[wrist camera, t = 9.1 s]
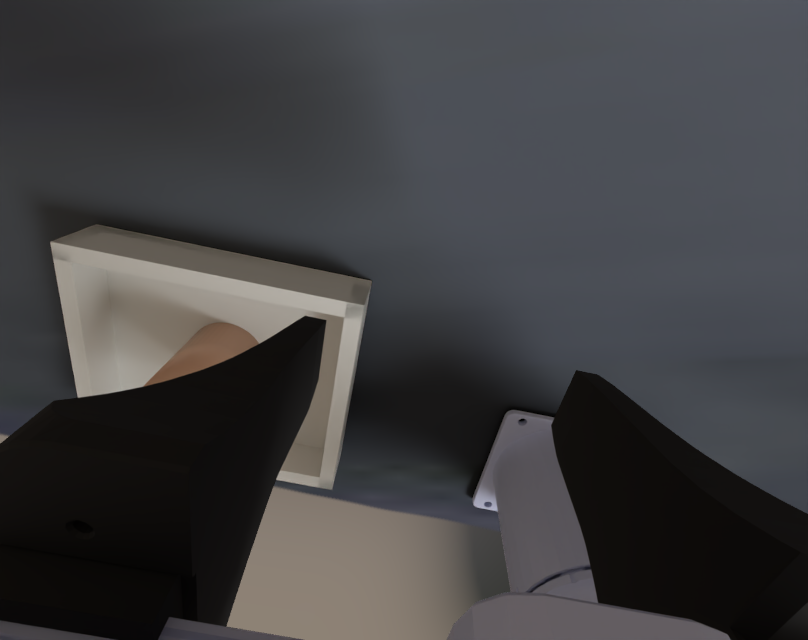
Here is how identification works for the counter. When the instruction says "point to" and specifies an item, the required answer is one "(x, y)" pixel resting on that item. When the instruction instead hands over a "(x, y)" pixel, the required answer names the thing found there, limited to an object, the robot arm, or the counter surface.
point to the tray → (205, 321)
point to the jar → (206, 350)
